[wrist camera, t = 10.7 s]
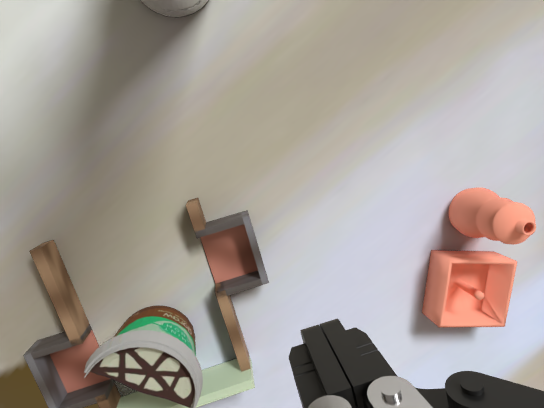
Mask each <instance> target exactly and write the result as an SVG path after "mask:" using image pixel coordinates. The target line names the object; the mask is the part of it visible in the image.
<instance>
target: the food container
mask: <svg viewBox="0 0 544 408" xmlns="http://www.w3.org/2000/svg"><path fill="white" fill-rule="evenodd" d="M89 372H92V373H95V374H97V375H101V376H105V377H107V378H110V379H113V380H115V381H118V382H120V383H122V384H124V385H126V386H128V387H130V388H132V389H134V390H136V391H138V392H140V393H144V394H147V395H151V396H156V397H160V398H163V399H167V400H170V401H172V402H175V403H178V404H181V405H183V406H186V407H188V408H196V406H197V403H198V401H199V398H200V395H201V391H202V384H203V377H202V370H201V367H200V364H199V362H198V360H197V357H196V348H195V334H194V330H193V326H192V324H191V323H190V321H189V320H188V318H187V317H186V316H185V315H184V314H182V313H181V312H180V311H178V310H176V309H174V308H171V307H167V306H150V307H147V308H144V309H141V310H139V311H137V312H136V313H134V314H133V315H132V316H131V317H129V318H128V320H127V321H126V322H125V323H124V324H123V326H122V327H121V328H120V329H119V331H118V332H117V333H116V335H115V336H114V337H113V338H111V339H110V340H108V341H106V342H105V343H103V344H102V345H101V346H100V347H99V348H97V349H96V350H95V352H94V353H93V354H92V355H91V356H90V358H89V359H88V361H87V363H86V366H85V370H84V373H86V375H85V377H86V376H87V375H88V373H89ZM85 377H84V378H85Z"/></svg>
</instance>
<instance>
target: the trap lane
mask: <svg viewBox="0 0 544 408" xmlns="http://www.w3.org/2000/svg"><path fill="white" fill-rule="evenodd" d="M186 207H187V210H188V213H189V216H190V219H191V222H192V225H193V228H194V231H195V234H196V237H197V238H201V241H202V244H203V247H204V250H205V253H206V256H207V259H208V262H209V265H210V268H211V271H212V274H213V277H214V280H215V283H216V286H215V294H216V297H217V300H218V303H219V306H220V309H221V312H222V315H223V318H224V321H225V324H226V327H227V330H228V333H229V336H230V339H231V342H232V345H233V348H234V351H235V354H236V357H237V359H234V360H231V361H228V362H225V363H222V364H219V365H216V366H213V367H210V368H207V369H204V370H202V377H203V384H202V391H201V395H200V398H199V401H198V403H197V406H196V408H197V407H200V406H202V405H205V404H208V403H211V402H214V401H217V400H220V399H223V398H226V397H229V396H232V395H235V394H238V393H241V392H244V391H246V390H249V389H252V388H255V385H254V378H253V370H252V362H251V359H250V356H249V353H248V350H247V347H246V344H245V341H244V338H243V335H242V331H241V328H240V325H239V322H238V319H237V316H236V313H235V310H234V307H233V304H232V301H231V298H230V295H232V294H235V293H238V292H241V291H245V290H248V289H251V288H254V287H257V286H260V285H263V284H267V283H269V281H268V278H267V274H266V271H265V268H264V264H263V261H262V258H261V254H260V251H259V247H258V244H257V241H256V237H255V234H254V230H253V227H252V224H251V220H250V217H249V214H248V211H243V212H240V213H237V214H233V215H230V216H227V217H223V218H220V219H217V220H213V221H210V222H207V223H206V221H205V218H204V215H203V211H202V208H201V205H200V202H199V199H198V198H195V199H192V200H189V201H188V202H187V204H186ZM30 253H31V256H32V258H33V260H34V262H35V265H36V267H37V269H38V271H39V274H40V276H41V278H42V280H43V282H44V285H45V287H46V289H47V291H48V294H49V296H50V298H51V300H52V303H53V305H54V307H55V309H56V312H57V314H58V316H59V318H60V321H61V323H62V325H63V327H64V330H65V332H63V333H60V334H56V335H53V336H50V337H47V338H44V339H40V340H37V341H36V342H35V343H34V344H33V345H32V346H31V348H30V349H29V350H28V351H27V352H26V353H25V354H24V355H23V356H24V358H25V360H26V362H27V364H28V366H29V368H30V370H31V372H32V374H33V376H34V378H35V381H36V382H37V384H38V387H39V389H40V391H41V393H42V395H43V397H44V399H45V401H46V403H47V405H48V407H49V408H83V407H86V406H89V405H92V404H96V403H98V406H99V408H188V407H186V406H183V405H181V404H178V403H175V402H172V401H170V400H167V399H163V398H160V397H156V396H151V395H147V394H144V393H140V392H138V391H137V392H134V393H131V394H128V395H125V396H122V397H120V394H119V392H118V390H117V387H116V385H115V383H114V380H113V379H110V378H107V377H105V376H101V375H97V374H95V373H92V372H89V373H88V375H87V376H86V377H85V375H86V373H84V370H85V366H86V363H87V361H88V359H89V358H90V356H91V355H92V354H93V353H94V352H95V350H96V349H97V348H99V345H98V343H97V340H96V338H95V336H94V333H93V331H92V329H91V326H90V324H89V322H88V319H87V317H86V315H85V312H84V310H83V308H82V305H81V303H80V301H79V298H78V296H77V294H76V291H75V289H74V287H73V284H72V282H71V280H70V277H69V275H68V273H67V270H66V268H65V266H64V263H63V261H62V259H61V256H60V254H59V252H58V249H57V247H56V245H55V242H54V240H52V241H48V242H45V243H42V244H41V245H39V246H37V247H35V248H34V249H32V250H30ZM84 377H85V378H84Z"/></svg>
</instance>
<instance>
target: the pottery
mask: <svg viewBox="0 0 544 408" xmlns="http://www.w3.org/2000/svg"><path fill="white" fill-rule="evenodd" d="M449 220H450V222H451V224H452V225H453V227H455V228H456V229H457V230H458V231H459V232H460V233H462V234H464V235H466V236H469V237H473V238H480V237H486V238H488V239H490V240H496V241H501V242H503V243H505V244H519V243H521V242H523V241H525V240H526V239H527V238H528V237H529V236H530V235H532V234H533V233H534V232H535V230H536V224H535V216H534V213H533V211H532V210H531V209H530V208H529V207H528V206H526V205H524V204H522V203H517V202H513V201H512V200H510V199H507V198H500V197H499V196H498V195H497V194H496V193H494V192H493V191H491V190H489V189H485V188H471V189H466V190H463V191H461V192H459V193H458V194H457V195H456V196H455V197H454V198H453V200H452V202H451V204H450V206H449ZM516 266H517V261H515V260H513V259H510V258H508V257H506V256H503V255H501V254H499V253H496V252H490V251H444V250H431V255H430V261H429V268H428V275H427V281H426V288H425V295H424V302H423V308H422V313H423V314H424V315H425V316H426V317H428V318H429V319H430V320H431V321H432V322H433V323H434V324H436V325H437V326H438V327H505V322H506V317H507V312H508V307H509V302H510V297H511V291H512V286H513V281H514V276H515V271H516Z"/></svg>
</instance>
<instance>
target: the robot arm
mask: <svg viewBox="0 0 544 408" xmlns="http://www.w3.org/2000/svg"><path fill="white" fill-rule="evenodd" d="M141 1H142V2H143V3H144V4H145V5H146V6H147V7H149V8H150V9H152V10H153V11H155V12H157V13H159V14H162V15H165V16H170V17H182V16H187V15H190V14H192V13H195V12H196V11H198V10H199V9H201V8H202V7H203V6H204V5H205V4H206V3H207V1H208V0H141ZM301 335H302V339H303V343H304V344H302V345H298V346H295V347H292V348H291V352H290V355H289V360H290V364H291V368H292V371H293V375H294V379H295V382H296V386H297V390H298V393H299V397H300V400H301V403H302V407H303V408H544V391H541V390H538V389H534V388H531V387H527V386H524V385H520V384H517V383H513V382H510V381H506V380H503V379H499V378H496V377H492V376H489V375H485V374H482V373H478V372H473V371H461V372H457V373H454V374H452V375H451V376H450V377H449V378H448V379H447V380H446V383H445V388H444V389H419V388H415V387H414V386H413V385H412V384H411V383H410V382H409V381H407V380H405V379H403V378H401V377H397V375H396V374H395V372H394V371H393V370H392V368H391V367H390V366H389V364H388V363H387V361H386V360H385V359H384V357H383V356H382V355H381V353H380V352H379V351H378V350H377V348H376V346H375V345H374V344H373V343H372V341H371V340H370V338H369V337H368V335H367V334H366V333H364V332H363V331H361V330H359V329H357V328H352V329H349V330H345V329H344V327H343V326H342V324H341V323H340V321H339V320H338V319H335V320H332V321H328V322H325V323H322V324H320V326H319V325H316V326H313V327H309V328H306V329H303V330H301Z"/></svg>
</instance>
